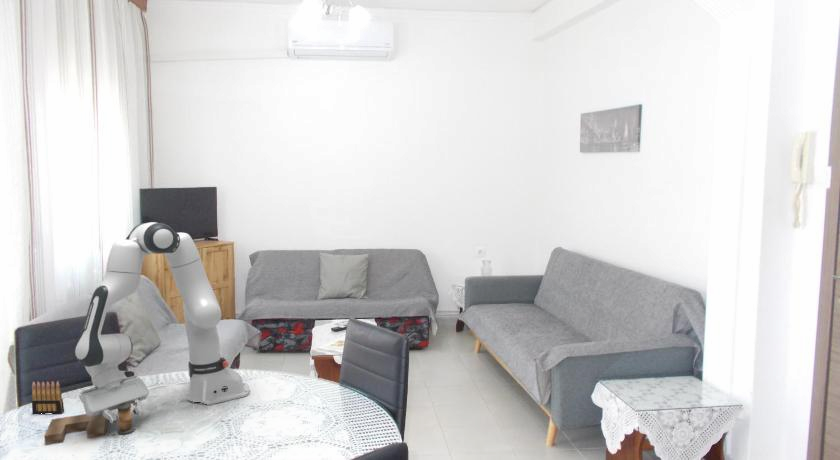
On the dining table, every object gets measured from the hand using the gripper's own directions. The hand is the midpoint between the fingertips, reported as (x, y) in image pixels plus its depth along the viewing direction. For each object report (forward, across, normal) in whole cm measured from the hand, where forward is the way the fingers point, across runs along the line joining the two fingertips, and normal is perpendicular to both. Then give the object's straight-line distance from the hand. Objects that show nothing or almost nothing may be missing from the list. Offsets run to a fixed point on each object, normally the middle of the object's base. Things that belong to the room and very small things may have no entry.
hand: (125, 417), depth 208 cm
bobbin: (+3, 0, +4) cm, 5 cm away
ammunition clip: (-24, -9, +31) cm, 41 cm away
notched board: (-6, -10, +14) cm, 18 cm away
